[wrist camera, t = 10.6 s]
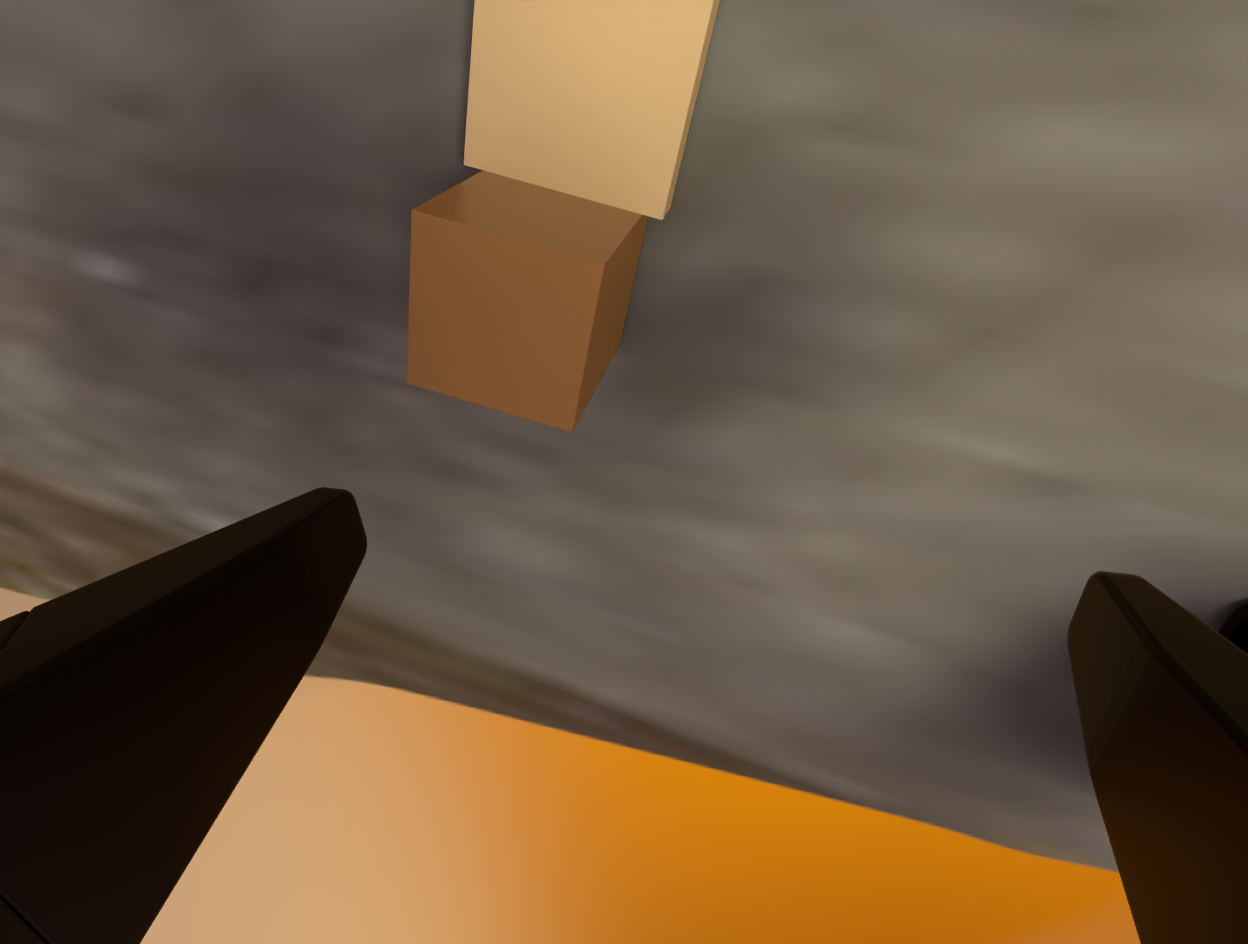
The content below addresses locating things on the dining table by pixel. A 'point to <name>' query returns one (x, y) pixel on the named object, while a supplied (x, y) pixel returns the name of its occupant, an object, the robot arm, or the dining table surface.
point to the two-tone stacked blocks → (552, 198)
